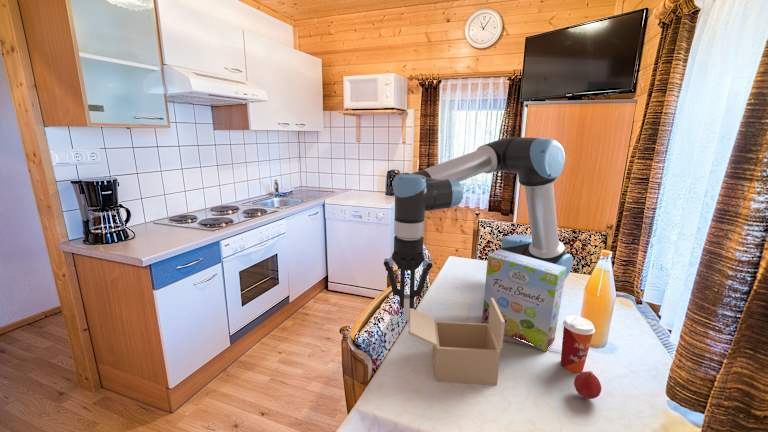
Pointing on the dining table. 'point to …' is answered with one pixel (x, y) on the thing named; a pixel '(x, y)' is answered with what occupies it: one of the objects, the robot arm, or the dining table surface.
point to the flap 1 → (422, 326)
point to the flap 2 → (496, 323)
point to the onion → (587, 385)
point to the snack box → (525, 296)
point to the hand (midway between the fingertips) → (406, 317)
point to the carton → (465, 353)
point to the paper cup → (576, 343)
